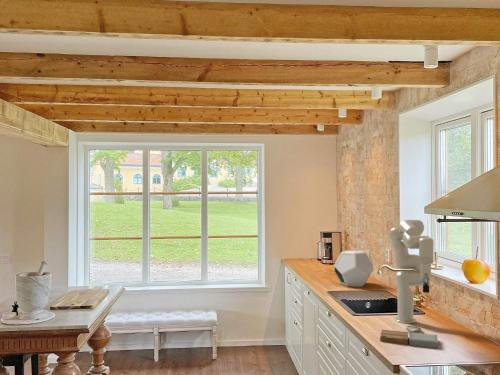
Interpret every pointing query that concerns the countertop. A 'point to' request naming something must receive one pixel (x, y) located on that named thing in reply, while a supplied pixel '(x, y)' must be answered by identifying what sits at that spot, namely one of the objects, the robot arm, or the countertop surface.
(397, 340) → the walnut stand
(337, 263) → the dodecahedron
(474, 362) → the countertop surface
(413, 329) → the stone
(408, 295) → the robot arm
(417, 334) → the slate stand
